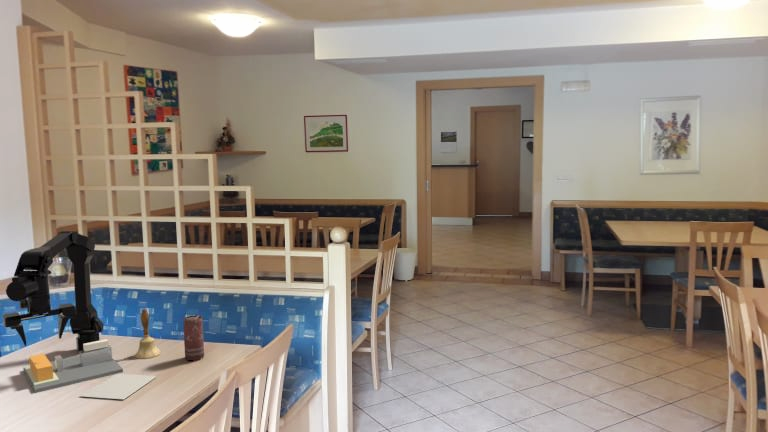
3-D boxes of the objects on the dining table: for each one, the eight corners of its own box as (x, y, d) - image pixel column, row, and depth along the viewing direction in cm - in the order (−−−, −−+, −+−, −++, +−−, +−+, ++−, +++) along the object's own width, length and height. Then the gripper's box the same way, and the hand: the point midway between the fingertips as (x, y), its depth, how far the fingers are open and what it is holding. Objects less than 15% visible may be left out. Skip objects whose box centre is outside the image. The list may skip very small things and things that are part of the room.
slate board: (104, 353, 199) (104, 350, 199) (123, 371, 182) (122, 368, 182) (23, 370, 184) (23, 367, 183) (35, 392, 167) (35, 389, 167)
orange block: (44, 365, 184) (43, 353, 184) (53, 378, 174) (52, 365, 173) (30, 368, 182) (29, 356, 181) (38, 381, 171) (37, 369, 171)
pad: (47, 363, 187) (47, 362, 187) (59, 380, 173) (59, 379, 173) (24, 368, 183) (24, 367, 183) (34, 385, 169) (34, 384, 169)
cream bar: (106, 345, 190) (106, 339, 190) (108, 346, 189) (108, 340, 189) (83, 349, 186) (83, 343, 186) (84, 351, 184) (84, 345, 184)
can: (208, 355, 195) (206, 315, 194) (196, 362, 189) (194, 320, 188) (193, 353, 197) (191, 314, 196) (181, 360, 191) (179, 319, 190)
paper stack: (185, 380, 176) (185, 377, 176) (137, 417, 151) (137, 415, 151) (116, 375, 180) (116, 373, 180) (58, 411, 155) (58, 409, 155)
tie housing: (109, 357, 192) (108, 344, 191) (112, 360, 189) (111, 347, 189) (55, 369, 182) (54, 356, 181) (57, 372, 179) (56, 358, 179)
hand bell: (136, 360, 192) (133, 313, 190) (133, 353, 199) (130, 308, 197) (162, 356, 196) (160, 310, 194) (158, 348, 203) (156, 304, 201)
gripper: (66, 282, 186) (70, 328, 188) (-3, 292, 174) (2, 342, 176) (75, 288, 177) (79, 337, 179) (3, 299, 165) (8, 352, 168)
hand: (42, 341), depth 176 cm, fingers open, 9 cm apart
